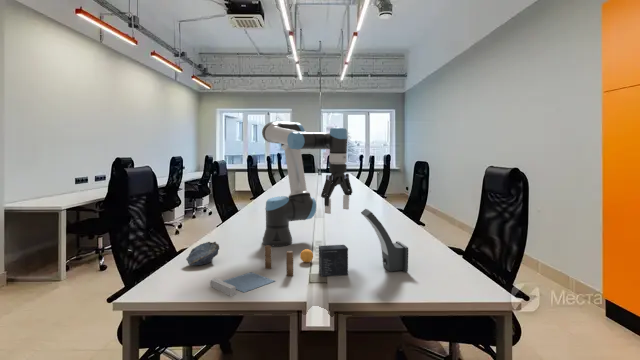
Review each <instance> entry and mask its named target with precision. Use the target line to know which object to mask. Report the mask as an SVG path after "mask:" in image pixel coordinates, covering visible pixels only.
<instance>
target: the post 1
mask: <svg viewBox="0 0 640 360" xmlns="http://www.w3.org/2000/svg"><path fill="white" fill-rule="evenodd" d="M264 269H266V270H271V269H272V246H270V245H265V246H264Z"/></svg>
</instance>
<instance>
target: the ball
mask: <svg viewBox="0 0 640 360" xmlns="http://www.w3.org/2000/svg"><path fill="white" fill-rule="evenodd" d="M299 256H300V260H301V261H302V262H304V263H310V262H312V260H313V259H314V252H313V251H312V250H311V249H308V248H306V249H303V250H302V251H301V252H300V255H299Z"/></svg>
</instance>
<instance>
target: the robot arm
mask: <svg viewBox="0 0 640 360" xmlns="http://www.w3.org/2000/svg"><path fill="white" fill-rule="evenodd" d="M261 134H262V138H263V140H265V141H266V142H267V143H270V144H280V147H281V149H282V150H283V151H284V153H285V154H284V155H285V161H286V169H287V174H288V175H287V176H288V183H289V188H290V193H289V194H288V196H284V195H282V196H274V197H270V198H268V199H267V200H266V201H265V208H264V209H265V230H264V234H263V237H262V244H263V245H265V246H266V245H270V246H271V247H284V246H285V247H286V246H289V245H291V244H292V243H293V237H292V233H291V230H290V226H289V225H290V222H297V221H306V220H310V219H312V218H313V217H315V215H316V212H317V201H316V200H315V198H314V197H312V196H311V192H309V191H308V190H307V183H306V178H305V171H304V163H303V157H302V151H301V150H329V155H328V156H329V167H328V168H329V170H328V171H329V173H330V174H326V176H325V181H324V184H323V188H322V192H321V194H320V197H321V198H322V199H324V214H331V213H332V198H331V196H332V194H333V192H334V190H335V187H337V186H340V188H341V190H342V192H343V194H342V195H343V196H342V209H343V210H347V211H348V210H350V196H352V193H353V187H352V185H351V181H350V175H349V173H347V164H346V163H347V160H348V159H347V156H348V155H347V152H348V130H347V128H345V127H331V128H330V130H329V132H311V131H310V132H307V131H305V128H304V126H303V124H301V123H300V122H294V121H270V122H268V123H266V124H265V125H264V127H263V128H262V131H261ZM331 215H332V214H331Z"/></svg>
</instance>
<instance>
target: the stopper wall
mask: <svg viewBox="0 0 640 360" xmlns="http://www.w3.org/2000/svg"><path fill="white" fill-rule="evenodd" d="M209 281H210V282H209V283H210V287H211V288H213V289H214V290H218V291H219V292H222V293H223V294H225V295H227V296H229V297H230V296H234V295H236V294H237V289H236V287H235V286H233V285H230V284H228V283H226V282H223V281H224V280H221V279H219V278H216V277H214V278H212V279H211V278H210V280H209Z"/></svg>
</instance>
